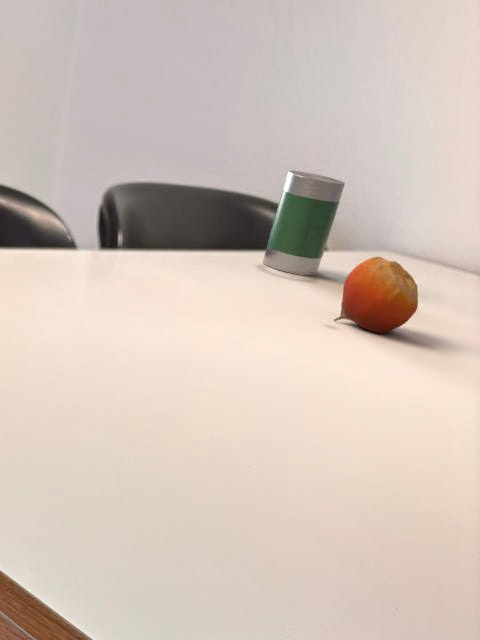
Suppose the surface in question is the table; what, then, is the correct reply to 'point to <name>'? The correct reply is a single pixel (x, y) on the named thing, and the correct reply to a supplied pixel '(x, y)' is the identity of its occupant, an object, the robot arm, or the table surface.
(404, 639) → the table surface
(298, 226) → the tin can
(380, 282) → the fruit
